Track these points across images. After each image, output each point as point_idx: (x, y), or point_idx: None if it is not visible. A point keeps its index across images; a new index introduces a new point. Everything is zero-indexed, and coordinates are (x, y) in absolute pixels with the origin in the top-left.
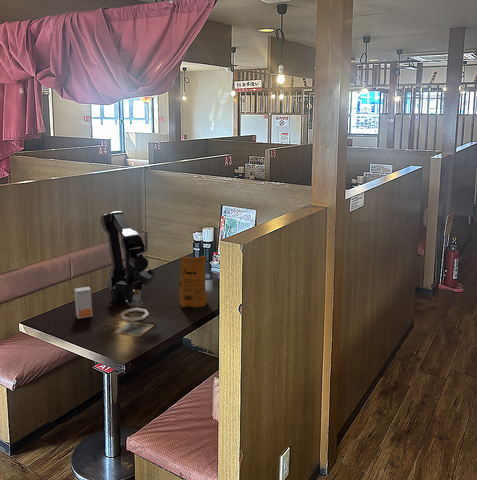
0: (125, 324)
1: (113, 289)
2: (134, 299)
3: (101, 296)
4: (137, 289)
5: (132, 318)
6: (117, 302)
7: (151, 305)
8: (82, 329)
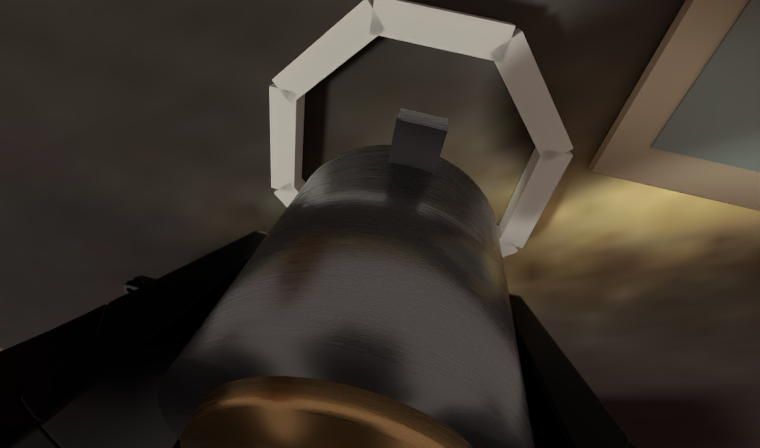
0: (697, 187)
1: (177, 444)
2: (508, 300)
3: None
4: (242, 440)
5: (556, 156)
6: None
7: (118, 69)
8: (684, 420)
